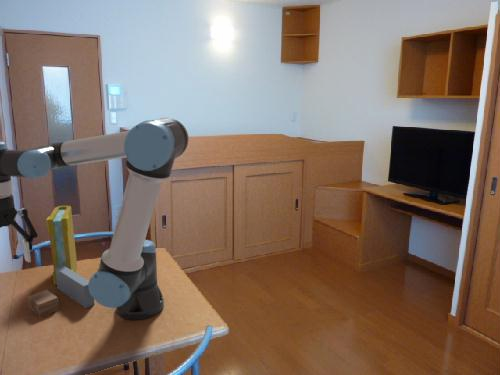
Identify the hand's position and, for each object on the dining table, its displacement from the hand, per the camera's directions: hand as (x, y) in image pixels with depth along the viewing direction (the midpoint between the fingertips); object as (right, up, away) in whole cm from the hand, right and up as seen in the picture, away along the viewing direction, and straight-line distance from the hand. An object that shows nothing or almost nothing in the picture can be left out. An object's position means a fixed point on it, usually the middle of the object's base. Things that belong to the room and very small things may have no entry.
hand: (8, 266), depth 121 cm
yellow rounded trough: (+2, -10, +35) cm, 36 cm away
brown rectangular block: (+5, -16, +11) cm, 20 cm away
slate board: (+12, -14, +18) cm, 26 cm away
